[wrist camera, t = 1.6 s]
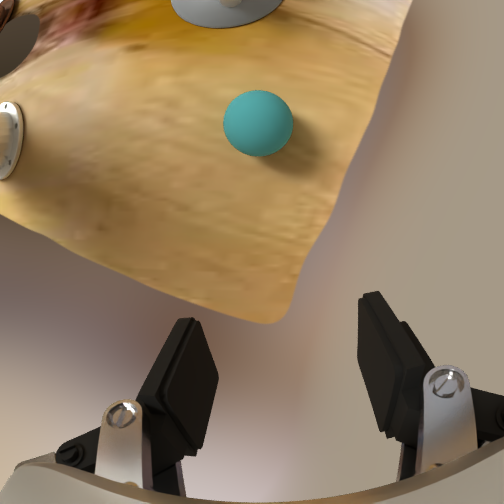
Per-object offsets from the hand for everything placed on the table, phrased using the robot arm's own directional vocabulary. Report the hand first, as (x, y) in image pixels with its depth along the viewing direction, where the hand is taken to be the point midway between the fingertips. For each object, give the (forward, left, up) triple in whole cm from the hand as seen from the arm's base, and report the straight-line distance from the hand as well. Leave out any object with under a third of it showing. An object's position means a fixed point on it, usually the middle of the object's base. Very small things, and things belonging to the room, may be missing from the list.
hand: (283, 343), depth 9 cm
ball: (0, +10, -17) cm, 19 cm away
